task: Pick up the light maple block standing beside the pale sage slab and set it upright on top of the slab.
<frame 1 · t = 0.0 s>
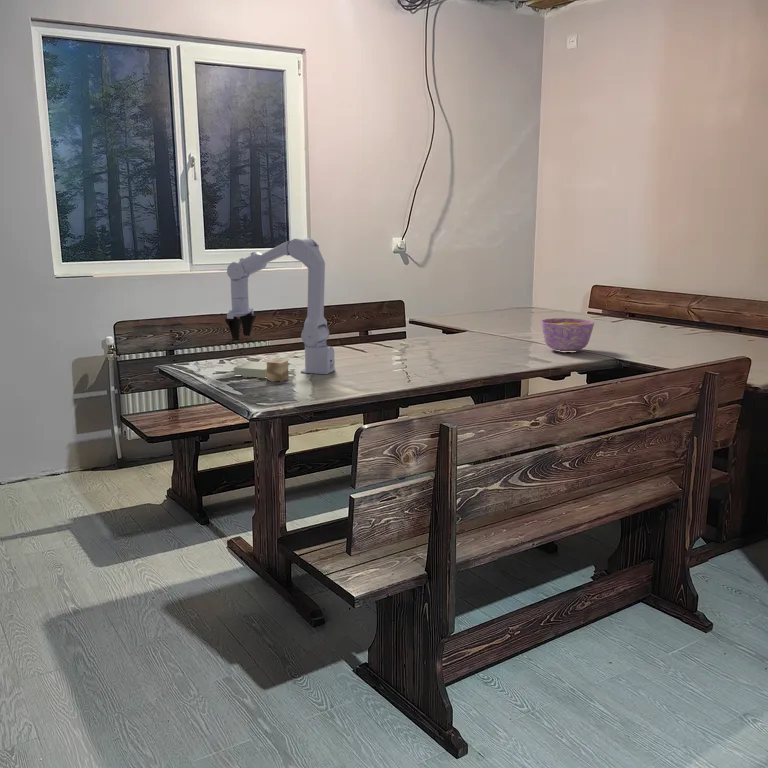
hand: (241, 337, 265), 10 cm above the table, tool pointing down, fingers open, 7 cm apart
sage slab: (257, 374, 253), on the table
bowl of food: (565, 351, 297), on the table
maple block: (277, 379, 245), on the table
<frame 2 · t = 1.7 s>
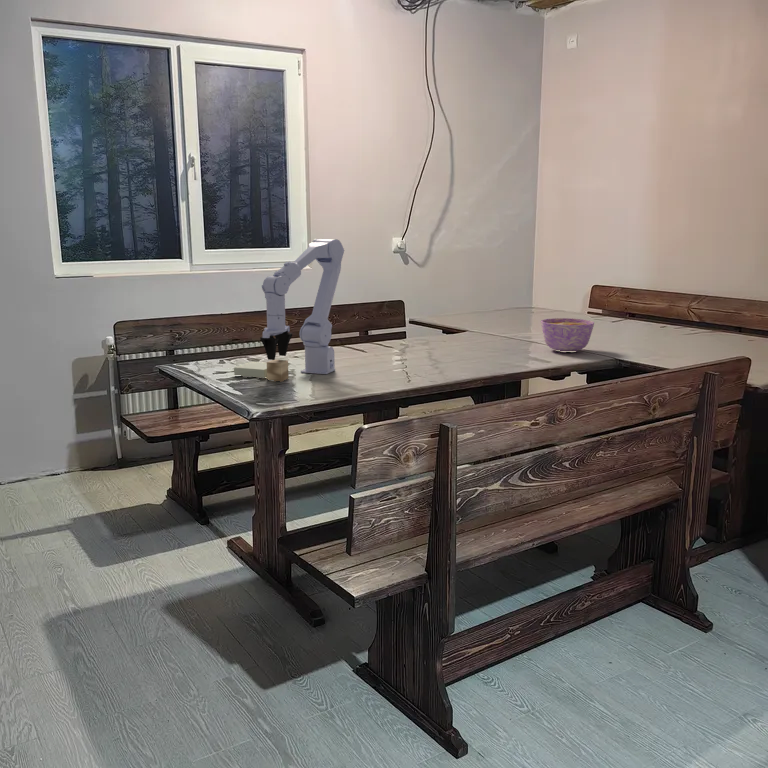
hand: (277, 357, 243), 7 cm above the table, tool pointing down, fingers open, 7 cm apart
nothing on the table moved.
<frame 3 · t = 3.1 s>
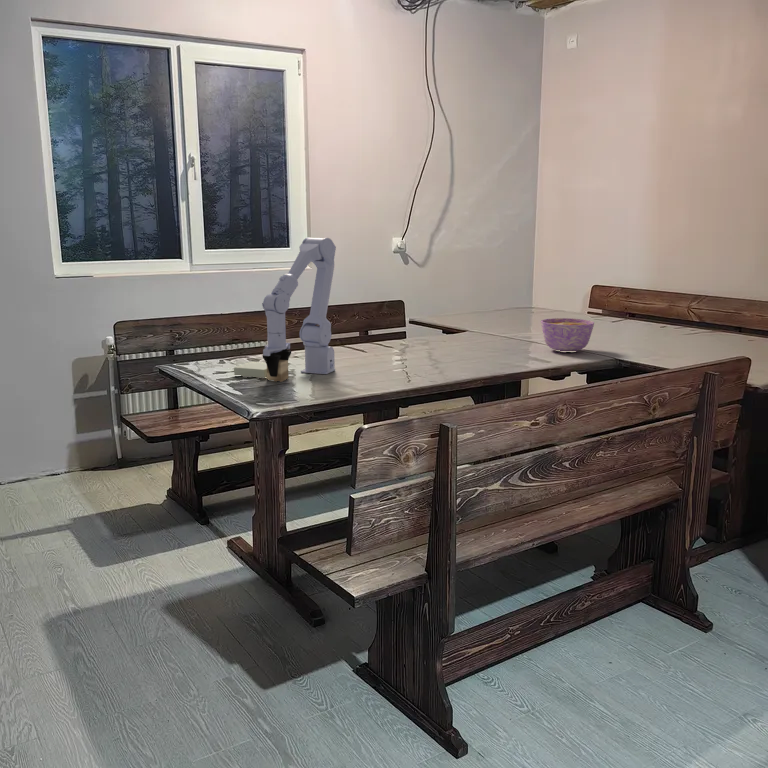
hand: (277, 374, 245), 2 cm above the table, tool pointing down, fingers closed on maple block, 5 cm apart
maple block: (277, 379, 245), on the table, touching gripper
everything else where it was.
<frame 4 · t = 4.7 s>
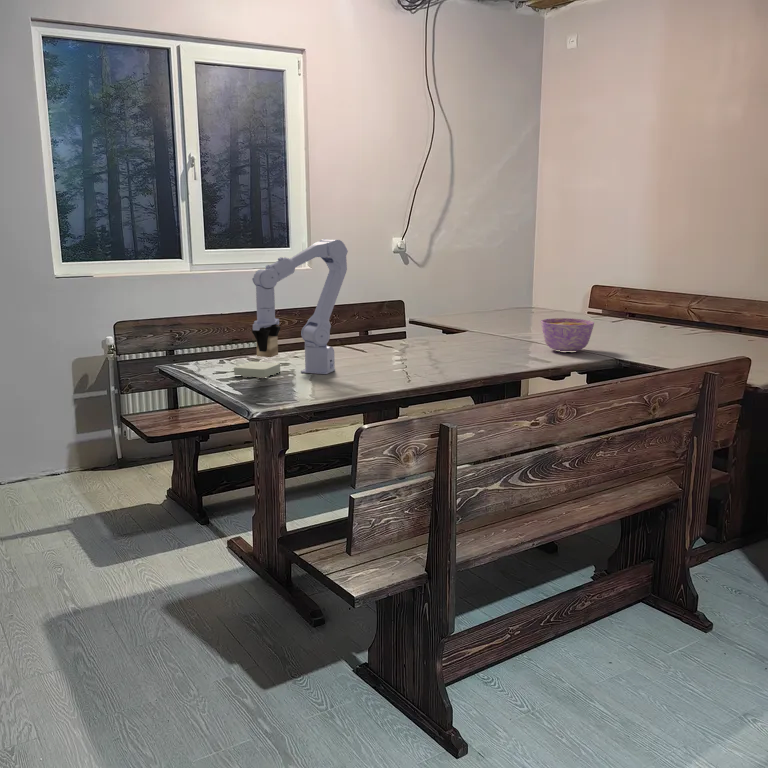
hand: (267, 349, 247), 9 cm above the table, tool pointing down, fingers closed on maple block, 5 cm apart
maple block: (267, 355, 247), point 7 cm above the table, touching gripper
everything else where it was.
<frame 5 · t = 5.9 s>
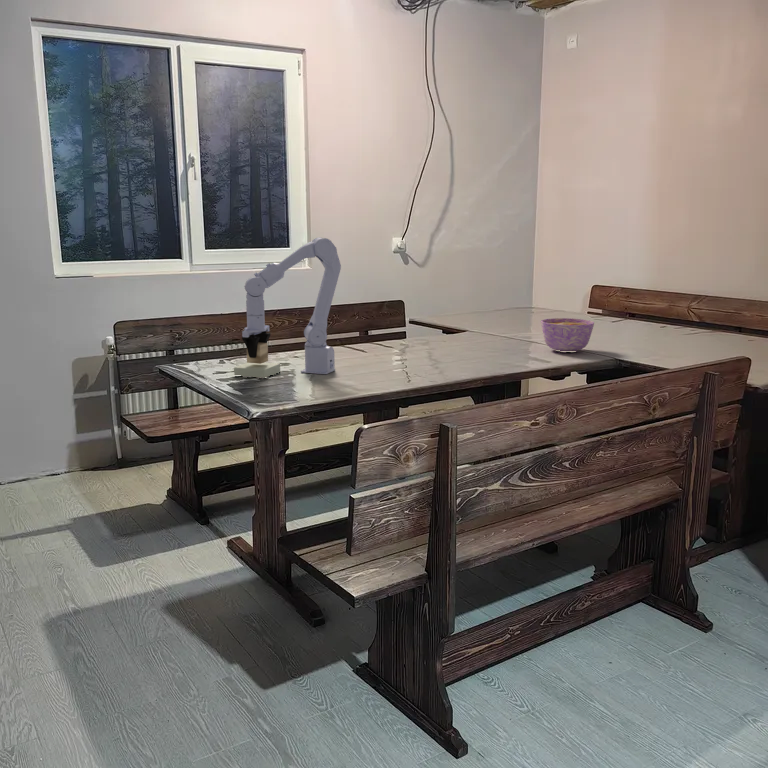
hand: (257, 356, 251), 6 cm above the table, tool pointing down, fingers closed on maple block, 5 cm apart
maple block: (257, 361, 252), point 4 cm above the table, touching gripper
everything else where it was.
when the fingers open (6 cm above the table, at t = 6.5 s): maple block drops 1 cm, resting on sage slab.
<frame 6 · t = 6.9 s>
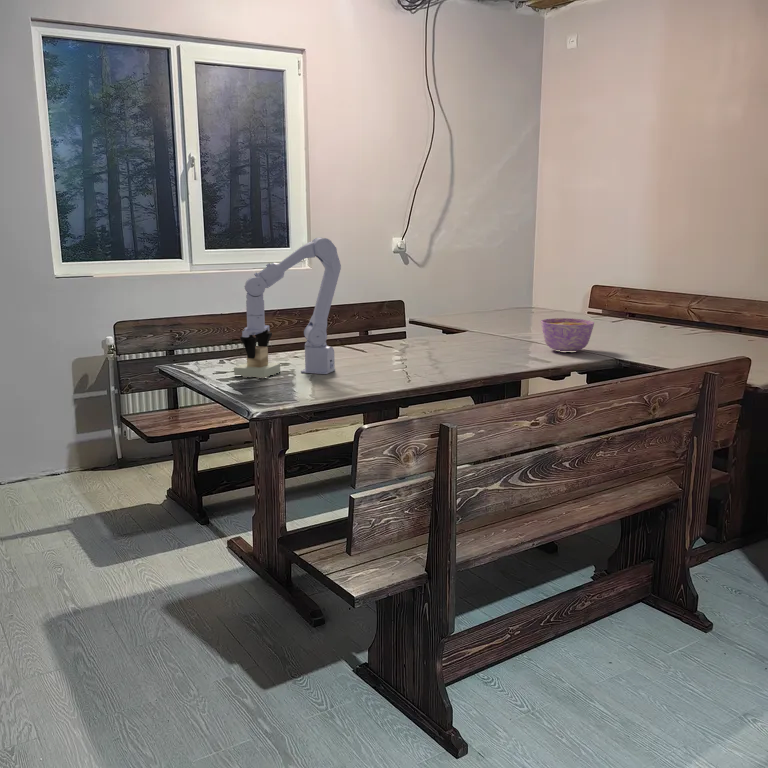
hand: (257, 356, 251), 6 cm above the table, tool pointing down, fingers open, 7 cm apart
maple block: (257, 365, 252), point 3 cm above the table, touching sage slab
everything else where it was.
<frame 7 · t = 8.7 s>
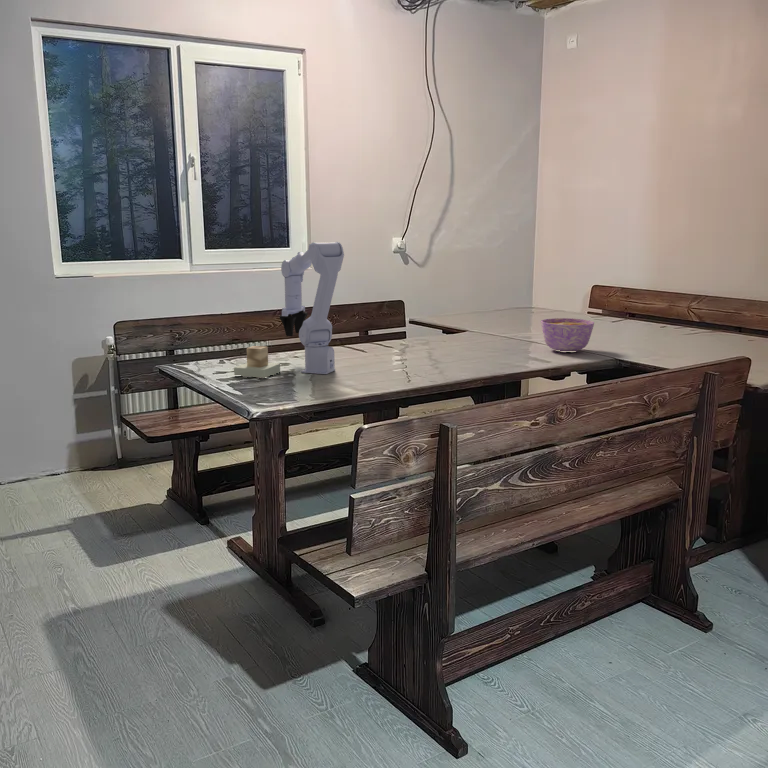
hand: (294, 334, 269), 10 cm above the table, tool pointing down, fingers open, 7 cm apart
nothing on the table moved.
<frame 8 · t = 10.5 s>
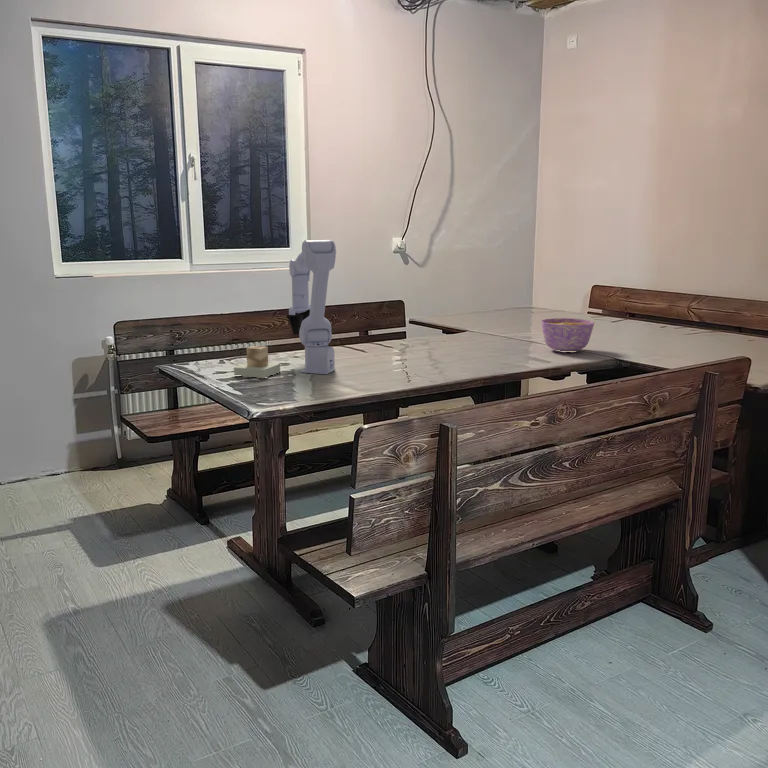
hand: (301, 333, 272), 10 cm above the table, tool pointing down, fingers open, 7 cm apart
nothing on the table moved.
at the end: maple block 0.1 cm off-centre on the sage slab, point 3.0 cm above the sage slab's base; maple block tilted 0°; the gripper is holding nothing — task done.
